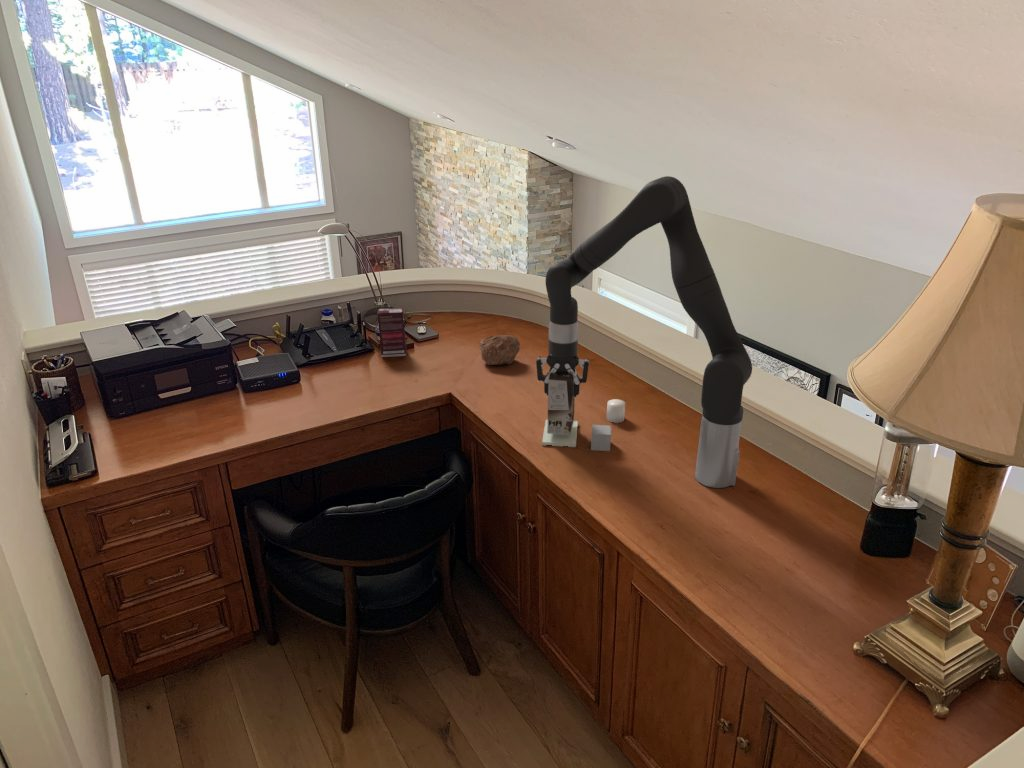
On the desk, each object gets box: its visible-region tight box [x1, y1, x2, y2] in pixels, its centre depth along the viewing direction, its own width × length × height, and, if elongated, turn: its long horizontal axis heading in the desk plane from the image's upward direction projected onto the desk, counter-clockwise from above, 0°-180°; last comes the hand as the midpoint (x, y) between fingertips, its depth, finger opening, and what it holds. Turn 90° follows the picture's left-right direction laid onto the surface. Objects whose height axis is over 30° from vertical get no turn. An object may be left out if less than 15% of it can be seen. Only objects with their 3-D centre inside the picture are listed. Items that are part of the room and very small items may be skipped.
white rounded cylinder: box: [606, 398, 626, 424], centre depth 213 cm, size 5×5×5 cm
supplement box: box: [376, 307, 407, 358], centre depth 254 cm, size 9×5×16 cm, turn 97°
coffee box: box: [547, 367, 577, 436], centre depth 202 cm, size 9×6×16 cm
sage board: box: [541, 418, 579, 448], centre depth 206 cm, size 9×13×1 cm
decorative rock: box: [478, 334, 521, 366], centre depth 249 cm, size 13×11×10 cm
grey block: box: [590, 424, 612, 452], centre depth 199 cm, size 5×5×5 cm
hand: (561, 394), depth 201 cm, fingers closed on coffee box, 6 cm apart
